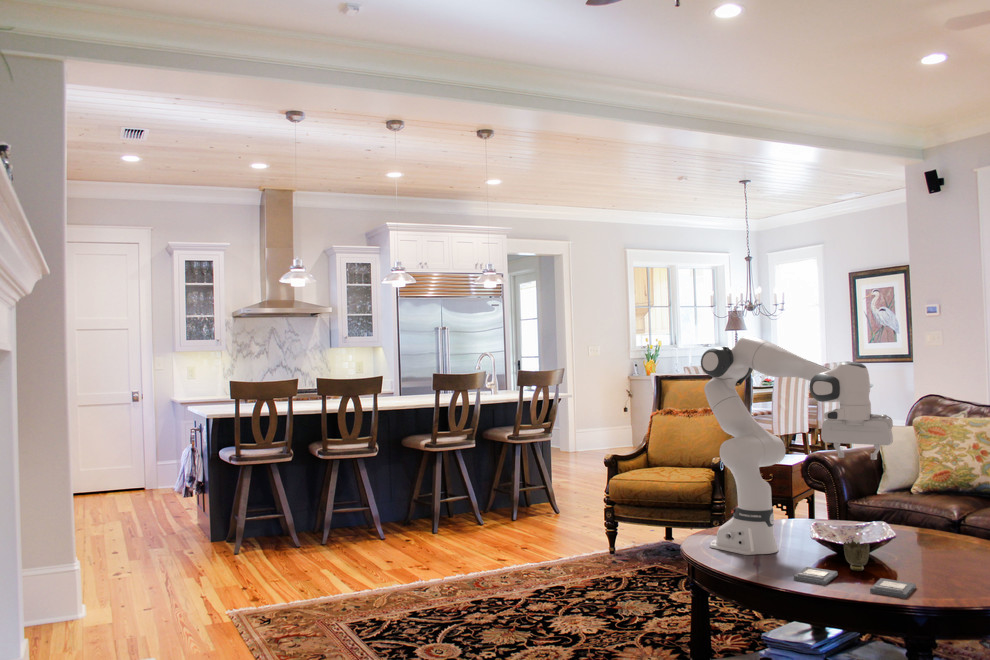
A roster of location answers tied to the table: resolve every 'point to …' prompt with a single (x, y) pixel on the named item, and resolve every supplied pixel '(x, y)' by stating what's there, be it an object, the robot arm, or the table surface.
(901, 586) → the plates
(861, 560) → the cup
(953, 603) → the table surface
